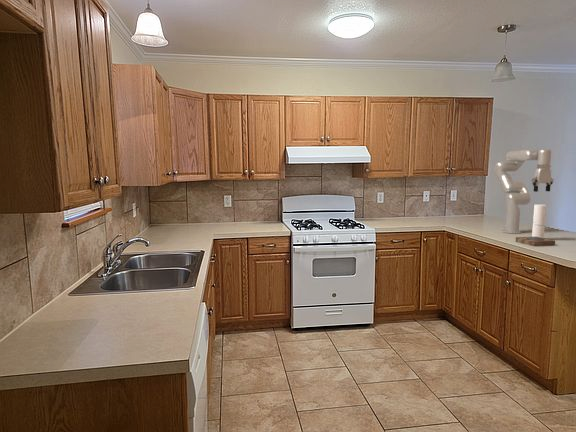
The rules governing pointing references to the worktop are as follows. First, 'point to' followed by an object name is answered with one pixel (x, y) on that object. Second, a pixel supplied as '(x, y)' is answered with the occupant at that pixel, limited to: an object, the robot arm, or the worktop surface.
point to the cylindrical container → (539, 220)
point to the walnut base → (535, 241)
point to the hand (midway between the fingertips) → (541, 191)
